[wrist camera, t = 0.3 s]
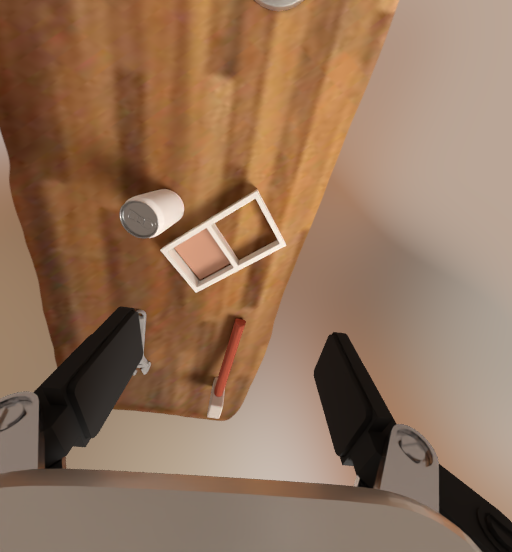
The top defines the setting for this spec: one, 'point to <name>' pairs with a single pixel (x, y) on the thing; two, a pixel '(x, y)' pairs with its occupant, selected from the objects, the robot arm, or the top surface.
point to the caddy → (216, 248)
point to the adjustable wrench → (143, 363)
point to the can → (151, 213)
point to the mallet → (225, 371)
